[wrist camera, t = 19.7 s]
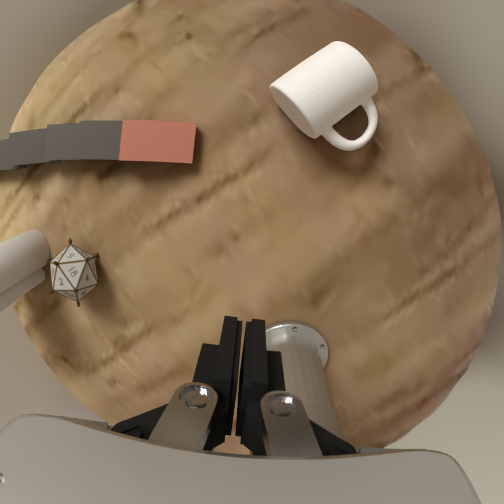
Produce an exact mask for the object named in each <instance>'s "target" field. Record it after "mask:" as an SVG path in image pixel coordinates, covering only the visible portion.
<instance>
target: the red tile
mask: <svg viewBox="0 0 504 504" xmlns="http://www.w3.org/2000/svg"><path fill="white" fill-rule="evenodd" d="M196 124H197V123H189V122H175V121H156V120H123V124H122V133H121V142H120V153H119V160H122V161H156V162H176V163H192V160H193V150H194V141H195V133H196Z"/></svg>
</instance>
